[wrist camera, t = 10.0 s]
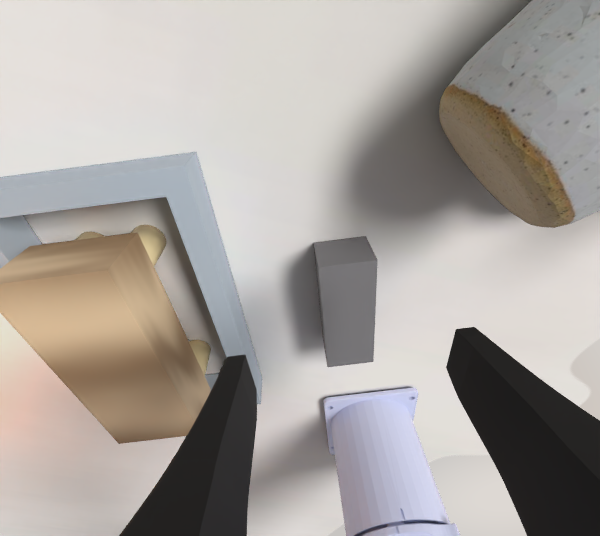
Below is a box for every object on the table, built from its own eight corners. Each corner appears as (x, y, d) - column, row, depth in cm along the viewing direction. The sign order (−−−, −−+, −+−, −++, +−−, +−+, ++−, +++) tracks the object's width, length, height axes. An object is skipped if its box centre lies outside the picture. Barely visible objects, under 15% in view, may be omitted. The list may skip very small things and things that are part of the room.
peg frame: (262, 378, 24) (260, 407, 22) (128, 394, 25) (114, 424, 23) (196, 152, 15) (182, 167, 12) (-28, 180, 15) (-78, 201, 13)
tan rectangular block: (210, 389, 21) (201, 434, 18) (137, 397, 21) (118, 443, 18) (137, 232, 14) (107, 270, 11) (29, 246, 14) (-24, 286, 12)
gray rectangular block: (364, 333, 22) (373, 361, 20) (323, 338, 22) (327, 367, 20) (365, 236, 18) (377, 260, 16) (313, 242, 18) (318, 267, 16)
